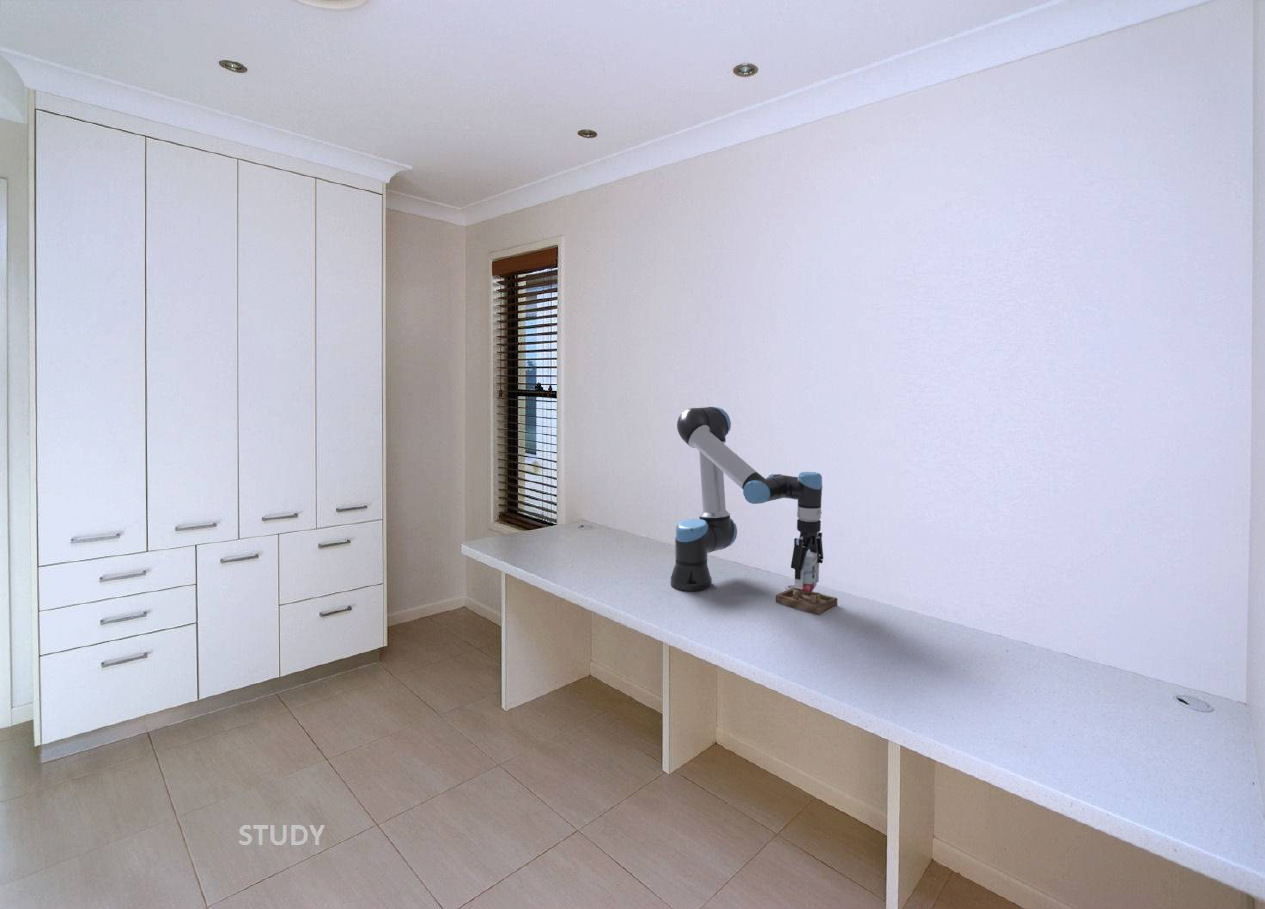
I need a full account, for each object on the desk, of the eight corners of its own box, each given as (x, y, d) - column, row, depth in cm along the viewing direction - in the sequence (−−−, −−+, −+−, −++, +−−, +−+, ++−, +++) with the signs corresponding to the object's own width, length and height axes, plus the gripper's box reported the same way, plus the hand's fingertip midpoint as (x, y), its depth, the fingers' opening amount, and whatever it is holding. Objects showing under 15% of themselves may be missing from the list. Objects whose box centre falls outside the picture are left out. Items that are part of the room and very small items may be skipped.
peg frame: (775, 602, 209) (776, 590, 209) (794, 593, 217) (795, 582, 217) (818, 615, 198) (819, 602, 197) (837, 605, 206) (837, 593, 206)
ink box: (811, 593, 202) (812, 558, 201) (796, 590, 204) (797, 556, 203) (816, 585, 210) (818, 551, 208) (802, 583, 212) (803, 549, 210)
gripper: (801, 526, 194) (799, 595, 197) (835, 515, 209) (833, 579, 212) (780, 522, 199) (778, 589, 202) (815, 512, 214) (813, 574, 217)
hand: (806, 584), depth 207 cm, fingers closed on ink box, 9 cm apart
